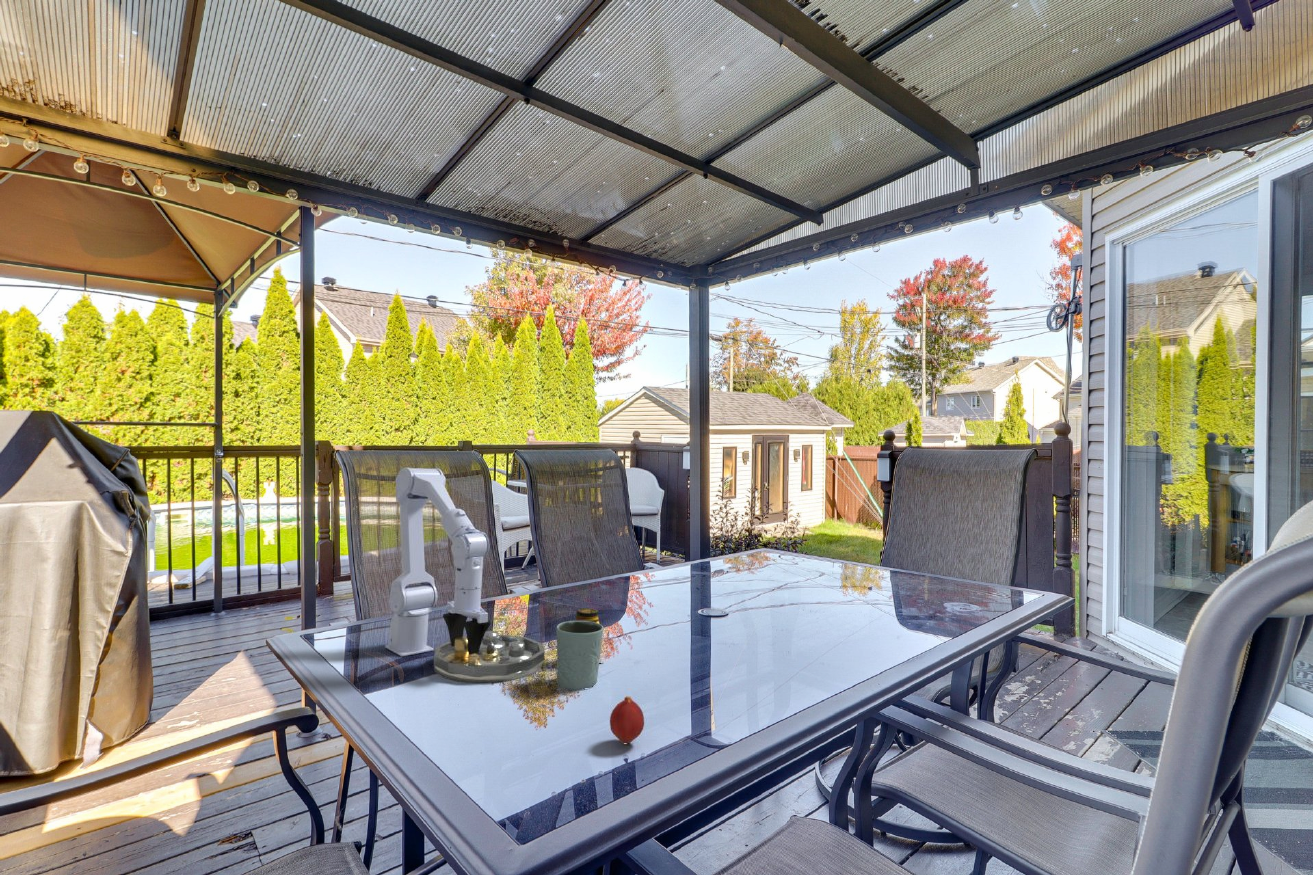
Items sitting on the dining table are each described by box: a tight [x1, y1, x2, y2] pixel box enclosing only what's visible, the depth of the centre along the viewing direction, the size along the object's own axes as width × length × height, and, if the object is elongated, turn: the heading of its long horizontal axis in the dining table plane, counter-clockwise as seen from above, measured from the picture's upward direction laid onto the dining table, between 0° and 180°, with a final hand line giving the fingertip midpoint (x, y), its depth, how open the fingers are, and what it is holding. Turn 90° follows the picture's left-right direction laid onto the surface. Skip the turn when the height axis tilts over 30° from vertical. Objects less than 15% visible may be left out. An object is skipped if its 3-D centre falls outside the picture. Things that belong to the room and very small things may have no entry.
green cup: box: [555, 620, 604, 691], centre depth 133 cm, size 10×10×12 cm
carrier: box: [433, 630, 546, 684], centre depth 143 cm, size 24×24×6 cm
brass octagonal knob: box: [445, 636, 480, 665], centre depth 138 cm, size 7×7×6 cm
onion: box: [609, 695, 645, 744], centre depth 105 cm, size 6×6×8 cm
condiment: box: [575, 607, 600, 624], centre depth 148 cm, size 7×8×12 cm
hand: (464, 649), depth 138 cm, fingers open, 7 cm apart
